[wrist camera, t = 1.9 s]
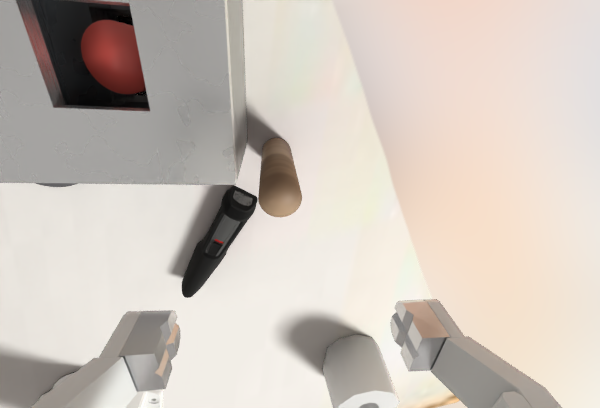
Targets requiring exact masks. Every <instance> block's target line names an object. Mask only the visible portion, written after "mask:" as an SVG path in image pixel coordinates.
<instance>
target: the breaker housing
mask: <svg viewBox="0 0 600 408" xmlns="http://www.w3.org/2000/svg"><path fill="white" fill-rule="evenodd" d="M118 16H126V17H132V20H133V25H134V30H135V35H136V41H137V46H138V51H139V56H140V61H141V66H142V71H143V76H144V82H145V87H146V92H147V96H141V95H135V94H120V93H116V92H114V91H111V90H109V89H107V88H106V87H104V86H103V85H101V84H100V83H99V82H98V81H97V80H96V79H95V78H94V77H93V76H92V75H91V73H90V72H89V70H88V69H87V67H86V65H85V63H84V60H83V57H82V53H81V40H82V37H83V34H84V32H85V30H86V29H87V28H88V27H89V26H90V25H91V24H93V23H95V22H97V21H100V20H113V21H117V22H119V19H118ZM246 145H247V116H246V88H245V60H244V32H243V4H242V0H0V183H85V184H186V185H236V182H237V178H238V174H239V171H240V167H241V163H242V160H243V156H244V152H245V149H246Z"/></svg>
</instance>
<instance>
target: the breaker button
mask: <svg viewBox="0 0 600 408" xmlns="http://www.w3.org/2000/svg"><path fill="white" fill-rule="evenodd" d="M81 53H82V57H83V60H84V63H85V65H86V67H87V69H88V70H89V72H90V73H91V75H92V76H93V77H94V78H95V79H96V80H97V81H98V82H99V83H100V84H101V85H103V86H104V87H106V88H107V89H109V90H111V91H114V92H116V93H120V94H135V93H139V92H143V91H146V87H145V82H144V76H143V71H142V66H141V61H140V56H139V51H138V46H137V41H136V35H135V30H134V26H132V25H128V24H124V23H121V22H117V21H113V20H100V21H97V22H95V23H93V24H91V25H90V26H89V27H88V28H87V29H86V30H85V32H84V34H83V37H82V40H81Z"/></svg>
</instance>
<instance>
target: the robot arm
mask: <svg viewBox="0 0 600 408" xmlns="http://www.w3.org/2000/svg"><path fill="white" fill-rule="evenodd" d="M395 309H396V311H397V312H396V313H395V314H394V315H393V316H392V319H391V331H392V335H393V338H394V340H395V342H396V343H397V344H398V345H400V346H401V347H402V349H401V356H402V358H403V360H404V362H405V364H406V367H407V369H408V371H427V370H432V371H431V372H432V373H433V374H434V375H435V376H436V377H437V378H438V379H439V380H440V381H441V382H442V383H443V384H444V385H445V386H446V387H447V388H448V389H449V390H450V391H451V392H452V393H453V394H454V395H455V396H456V397H457V398H458V399H459V400H460V401H462V402H463V404H464V405H465V406H467V407H468V408H561V406H560V405H559V404H558V402H557V401H556V400H555V399H554V398H553V396H552V395H551V394H550V393H549V392H548V391H547V389H546V388H545V387H543V386H541V385H540V384H539V383H537V382H536V381H534V380H533V379H531V378H530V377H528V376H527V375H525V374H524V373H522V372H521V371H519V370H518V369H516V368H515V367H513V366H512V365H510V364H509V363H507V362H506V361H504V360H503V359H501V358H500V357H498V356H497V355H495V354H494V353H492V352H491V351H490V350H488V349H486V348H485V347H484V346H482V345H481V344H479V343H478V342H476V341H475V340H473V339H472V338H470V337H465V336H464V335H463V333H462V332H461V331H460V329H459V328H458V326H457V325H456V324H455V322H454V321H453V319H452V318H451V317H450V315H449V314H448V312H447V311H446V310H445V308H444V307H443V305H442V304H441V303H440V301H438V300H437V299H432V300H407V301H398V302H397V303H396V306H395ZM176 319H177V315H176V312H175V311H130V312H127V313H126V314H125V315H124V316H123V317H122V319H121V320H120V322H119V324H118V326H117V327H116V329H115V331H114V332H113V334H112V336H111V338H110V339H109V341H108V343H107V344H106V346H105V348H104V350H103V351H102V353H101V355H100V356H99V358H93V359H92V360H91V361H90V362H88V363H87V364H86V365H84V366H83V367H82V368H81V369H79V370H78V371H77V372H75V373H72V374H69V375H66V376H64V377H62V378H61V379H59V380H58V381H57V382H56V383H55V385H54V386H53V388H52V390H51V391H49V392H47V393H45V394H43V395H42V396H41V397H40V398H39V400H38V402H37V403H35V404H34V405H33V406H32V407H30V408H163V390H162V389H166V386H167V383H168V380H169V376H170V373H171V370H172V365H171V360H172V359H173V358H174V357H175V356H176V355H177V351H178V348H179V343H180V328H179V326H178V325H177V324H176V323H175V322H176Z"/></svg>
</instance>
